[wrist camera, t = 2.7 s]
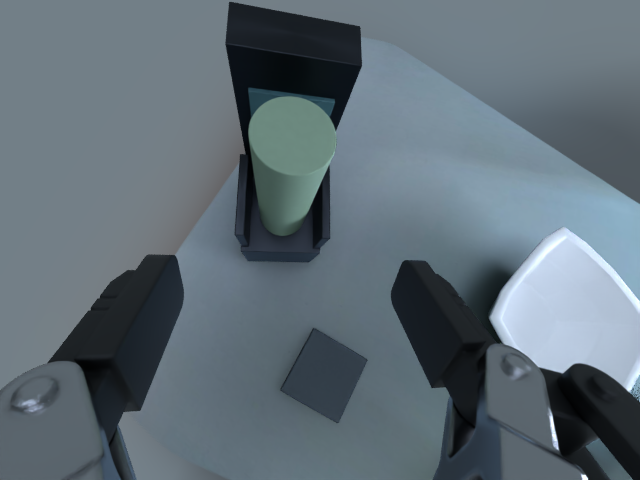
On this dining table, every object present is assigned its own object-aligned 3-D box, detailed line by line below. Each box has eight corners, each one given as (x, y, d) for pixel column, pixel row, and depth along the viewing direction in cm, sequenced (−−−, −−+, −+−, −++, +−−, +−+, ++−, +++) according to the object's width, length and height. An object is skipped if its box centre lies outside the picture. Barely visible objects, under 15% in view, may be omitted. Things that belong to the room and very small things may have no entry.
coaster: (280, 389, 35) (280, 390, 34) (313, 327, 37) (314, 328, 37) (337, 421, 35) (338, 423, 35) (366, 358, 38) (367, 359, 37)
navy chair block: (309, 262, 39) (376, 206, 14) (247, 260, 38) (200, 195, 13) (309, 187, 42) (368, 27, 17) (252, 183, 40) (220, -1, 15)
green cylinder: (251, 220, 30) (229, 142, 14) (275, 185, 31) (279, 80, 16) (289, 244, 30) (309, 192, 15) (312, 208, 31) (351, 126, 16)
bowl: (436, 315, 41) (477, 320, 33) (514, 227, 47) (564, 213, 39) (531, 424, 40) (596, 456, 32) (597, 320, 46) (666, 326, 38)
